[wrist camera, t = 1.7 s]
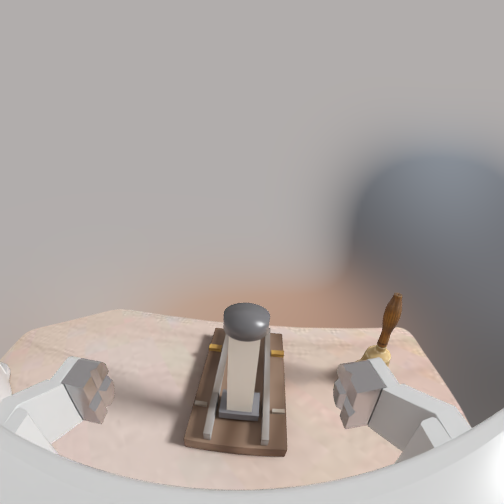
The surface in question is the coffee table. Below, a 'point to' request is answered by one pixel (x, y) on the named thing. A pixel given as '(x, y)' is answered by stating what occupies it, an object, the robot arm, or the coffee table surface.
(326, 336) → the coffee table surface
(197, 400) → the fader track
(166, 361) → the coffee table surface
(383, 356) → the hand bell
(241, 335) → the fader tab
